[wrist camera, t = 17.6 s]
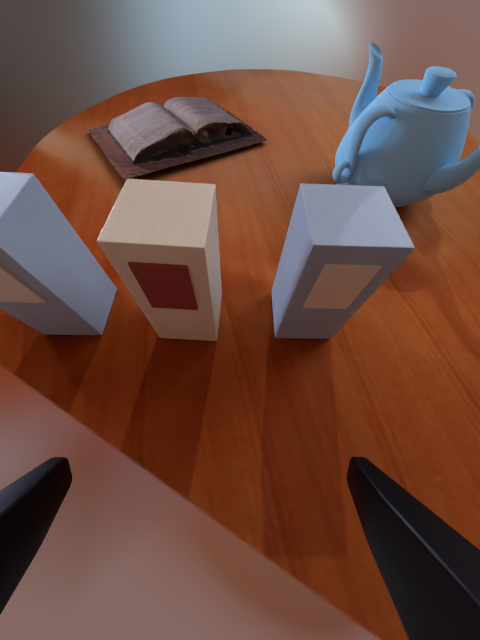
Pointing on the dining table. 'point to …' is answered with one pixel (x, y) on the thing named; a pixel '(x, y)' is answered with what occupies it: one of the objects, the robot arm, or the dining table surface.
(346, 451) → the dining table surface
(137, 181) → the cream block
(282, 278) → the block right
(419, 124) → the teapot
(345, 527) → the dining table surface
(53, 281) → the block left
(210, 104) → the book
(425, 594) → the robot arm
